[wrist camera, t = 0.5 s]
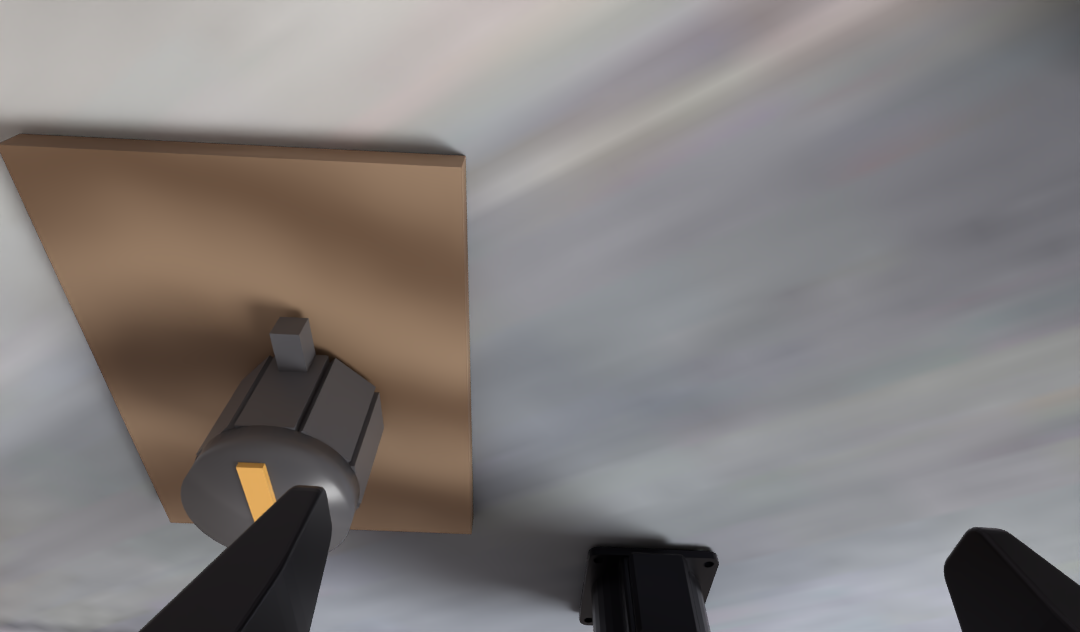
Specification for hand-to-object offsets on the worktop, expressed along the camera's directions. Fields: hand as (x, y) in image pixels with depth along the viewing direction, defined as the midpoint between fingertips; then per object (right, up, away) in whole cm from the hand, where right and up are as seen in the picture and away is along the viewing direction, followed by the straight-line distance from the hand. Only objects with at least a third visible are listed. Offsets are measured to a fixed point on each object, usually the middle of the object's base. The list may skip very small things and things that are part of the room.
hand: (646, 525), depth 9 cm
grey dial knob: (-10, 0, +15) cm, 18 cm away
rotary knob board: (-11, +1, +16) cm, 20 cm away
